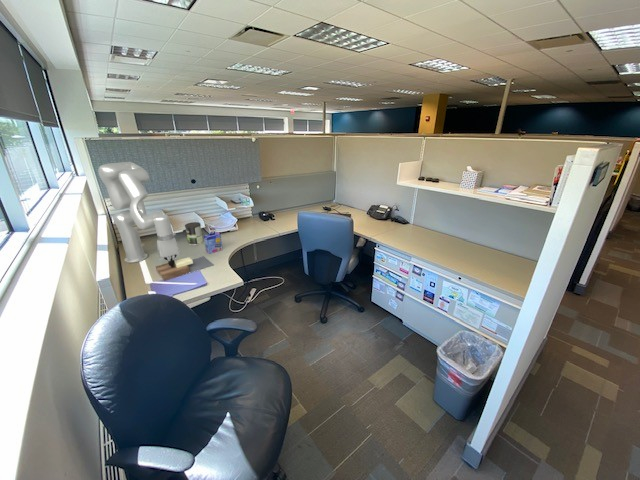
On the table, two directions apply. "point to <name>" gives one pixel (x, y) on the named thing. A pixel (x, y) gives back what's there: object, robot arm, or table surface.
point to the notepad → (183, 262)
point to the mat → (199, 264)
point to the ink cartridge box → (213, 242)
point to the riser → (171, 271)
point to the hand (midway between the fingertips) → (172, 266)
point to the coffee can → (194, 233)
